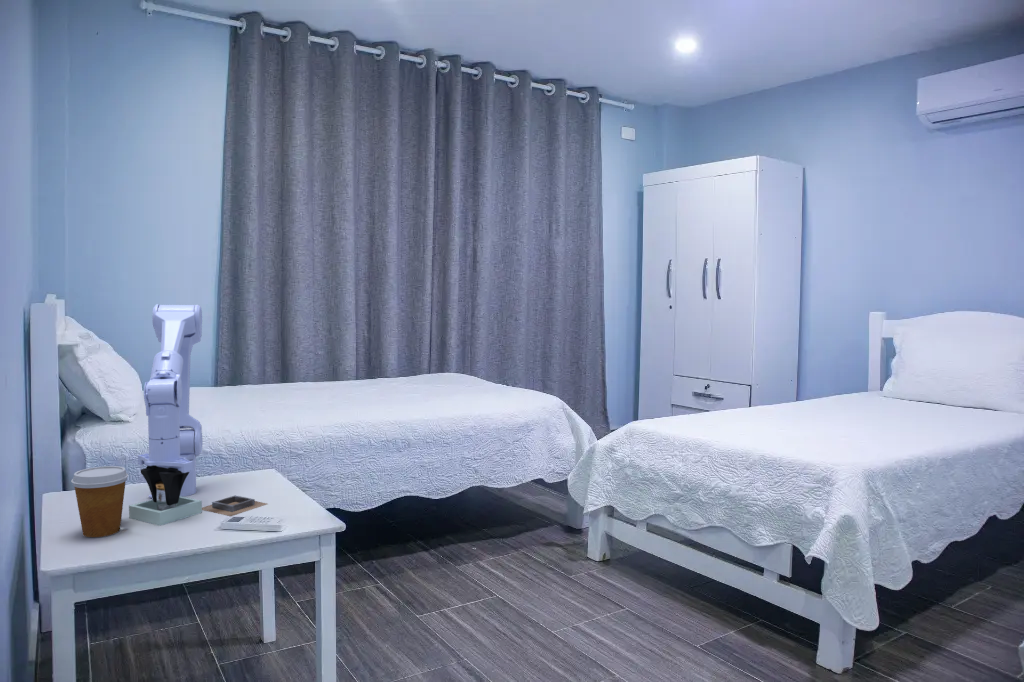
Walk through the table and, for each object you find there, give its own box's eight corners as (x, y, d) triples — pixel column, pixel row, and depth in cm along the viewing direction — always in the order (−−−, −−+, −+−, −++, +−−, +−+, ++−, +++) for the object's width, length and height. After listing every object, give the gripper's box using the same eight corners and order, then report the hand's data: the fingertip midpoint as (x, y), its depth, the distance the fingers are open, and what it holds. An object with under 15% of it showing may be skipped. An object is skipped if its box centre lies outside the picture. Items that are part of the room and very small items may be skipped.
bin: (129, 522, 144) (128, 505, 143) (171, 510, 152) (171, 494, 152) (160, 530, 139) (159, 512, 139) (202, 517, 148) (201, 500, 147)
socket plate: (197, 513, 150) (197, 503, 150) (236, 501, 159) (236, 491, 159) (230, 520, 145) (230, 510, 145) (268, 508, 154) (268, 498, 154)
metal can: (170, 507, 148) (170, 478, 148) (180, 510, 146) (179, 481, 146) (152, 511, 145) (151, 482, 145) (162, 514, 143) (161, 485, 143)
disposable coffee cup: (71, 543, 131) (69, 480, 131) (74, 528, 140) (72, 468, 139) (129, 535, 136) (128, 474, 135) (129, 521, 144) (127, 463, 143)
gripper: (123, 436, 144) (125, 502, 145) (170, 444, 138) (171, 513, 138) (155, 431, 151) (156, 493, 151) (201, 438, 144) (202, 503, 145)
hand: (165, 502), depth 145 cm, fingers closed on metal can, 4 cm apart
